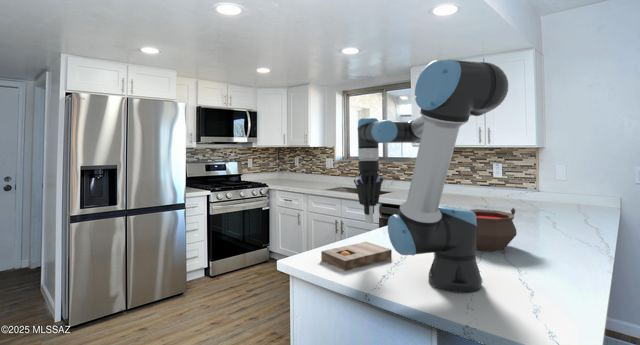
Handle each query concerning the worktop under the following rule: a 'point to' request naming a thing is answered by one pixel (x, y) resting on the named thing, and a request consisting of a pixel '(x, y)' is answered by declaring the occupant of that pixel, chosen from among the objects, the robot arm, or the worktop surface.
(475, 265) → the robot arm
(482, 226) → the brown pot
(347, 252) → the ball
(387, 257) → the wooden block with hole
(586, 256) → the worktop surface
